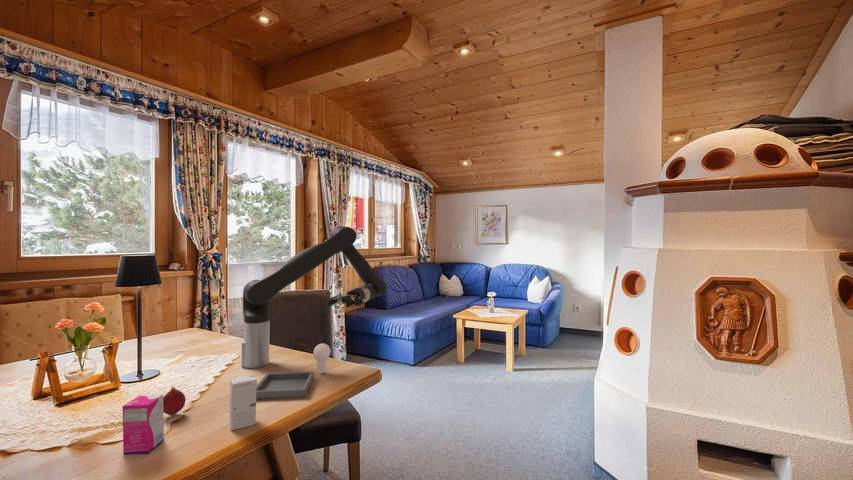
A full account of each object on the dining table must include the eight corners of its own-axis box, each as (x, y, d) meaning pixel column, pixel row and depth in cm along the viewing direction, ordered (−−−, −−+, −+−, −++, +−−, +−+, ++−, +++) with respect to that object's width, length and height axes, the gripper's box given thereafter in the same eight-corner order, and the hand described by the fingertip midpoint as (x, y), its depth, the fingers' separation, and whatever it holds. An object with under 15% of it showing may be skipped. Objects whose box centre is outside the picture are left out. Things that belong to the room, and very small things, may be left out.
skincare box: (230, 431, 94) (231, 384, 94) (228, 424, 97) (229, 378, 97) (256, 424, 97) (257, 379, 97) (253, 417, 101) (254, 374, 101)
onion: (190, 412, 103) (190, 384, 103) (170, 422, 98) (170, 392, 98) (175, 409, 105) (175, 381, 105) (155, 418, 100) (155, 389, 100)
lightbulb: (332, 370, 138) (332, 341, 138) (326, 376, 132) (327, 346, 132) (317, 370, 138) (317, 341, 138) (310, 375, 132) (310, 345, 132)
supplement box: (139, 441, 89) (139, 394, 89) (164, 440, 89) (165, 393, 89) (121, 455, 83) (121, 405, 83) (148, 454, 83) (149, 404, 83)
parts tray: (250, 400, 112) (250, 392, 112) (266, 380, 128) (267, 373, 128) (304, 397, 114) (304, 389, 114) (313, 378, 130) (313, 371, 130)
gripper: (344, 287, 163) (322, 294, 148) (372, 288, 159) (352, 295, 143) (345, 303, 164) (323, 312, 149) (373, 305, 159) (353, 314, 144)
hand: (337, 304), depth 146 cm, fingers open, 8 cm apart
